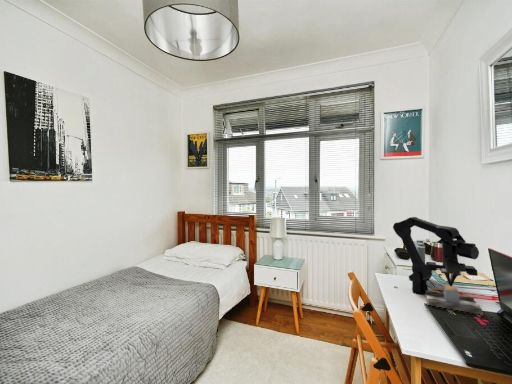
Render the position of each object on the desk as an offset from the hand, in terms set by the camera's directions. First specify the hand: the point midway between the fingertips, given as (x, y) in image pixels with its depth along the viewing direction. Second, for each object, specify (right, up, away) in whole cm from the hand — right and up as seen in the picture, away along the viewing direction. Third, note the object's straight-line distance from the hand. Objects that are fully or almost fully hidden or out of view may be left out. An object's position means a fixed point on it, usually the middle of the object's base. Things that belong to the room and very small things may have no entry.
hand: (450, 285), depth 115 cm
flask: (+6, -9, +29) cm, 31 cm away
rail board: (0, -9, 0) cm, 9 cm away
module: (0, -7, 0) cm, 7 cm away
